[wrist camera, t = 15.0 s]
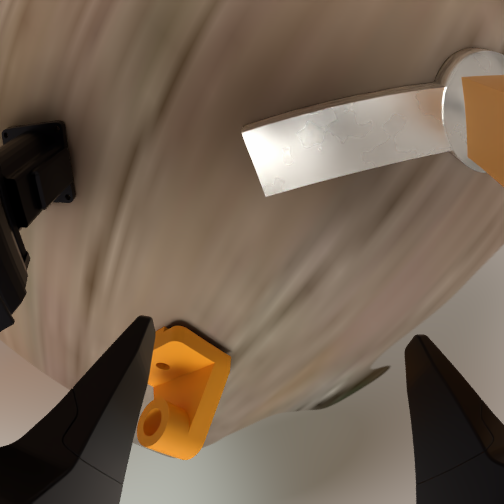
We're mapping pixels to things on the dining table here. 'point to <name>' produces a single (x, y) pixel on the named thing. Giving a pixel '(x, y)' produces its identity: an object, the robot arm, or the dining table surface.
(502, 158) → the orange rectangular block
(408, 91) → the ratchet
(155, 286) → the dining table surface
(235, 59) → the dining table surface
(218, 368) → the bracket
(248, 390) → the dining table surface
